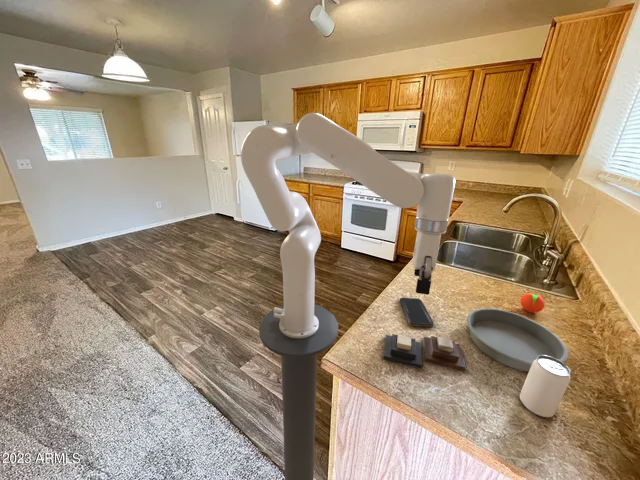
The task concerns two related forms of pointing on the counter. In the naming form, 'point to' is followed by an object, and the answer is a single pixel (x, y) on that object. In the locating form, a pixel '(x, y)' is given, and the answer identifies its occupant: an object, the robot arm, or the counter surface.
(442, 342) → the key
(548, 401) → the can
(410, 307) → the phone
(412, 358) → the keypad
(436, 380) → the counter surface
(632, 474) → the counter surface
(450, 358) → the keypad
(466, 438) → the counter surface
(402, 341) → the key
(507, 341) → the cake pan
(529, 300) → the tomato
